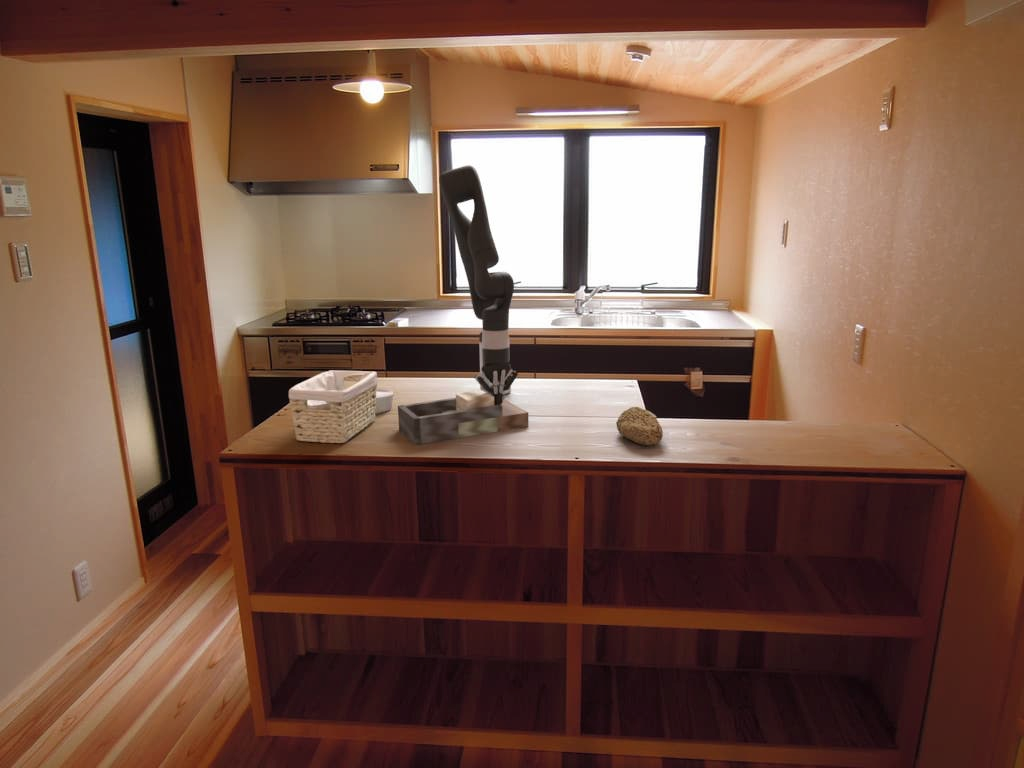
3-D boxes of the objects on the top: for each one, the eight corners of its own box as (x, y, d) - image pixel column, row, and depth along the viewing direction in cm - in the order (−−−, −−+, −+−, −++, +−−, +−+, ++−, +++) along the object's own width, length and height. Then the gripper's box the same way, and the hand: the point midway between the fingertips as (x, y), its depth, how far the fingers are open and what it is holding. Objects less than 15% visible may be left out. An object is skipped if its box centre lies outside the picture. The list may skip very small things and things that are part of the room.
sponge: (619, 429, 193) (605, 437, 174) (626, 402, 192) (613, 407, 173) (665, 442, 189) (656, 451, 170) (672, 415, 188) (665, 421, 169)
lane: (506, 413, 204) (505, 390, 203) (528, 426, 192) (528, 402, 190) (399, 430, 190) (397, 405, 188) (415, 445, 178) (414, 419, 176)
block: (482, 407, 197) (481, 390, 196) (494, 414, 190) (494, 396, 189) (456, 411, 193) (455, 393, 192) (467, 418, 186) (467, 400, 185)
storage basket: (330, 417, 203) (326, 368, 200) (382, 419, 200) (379, 370, 196) (290, 443, 181) (284, 389, 177) (347, 447, 177) (343, 391, 174)
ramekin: (398, 404, 215) (397, 388, 214) (389, 415, 204) (388, 398, 203) (363, 404, 216) (362, 388, 215) (352, 414, 205) (351, 397, 204)
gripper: (510, 340, 196) (511, 399, 200) (468, 345, 190) (470, 405, 194) (523, 345, 189) (524, 405, 194) (479, 350, 184) (481, 412, 188)
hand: (497, 405), depth 194 cm, fingers closed
